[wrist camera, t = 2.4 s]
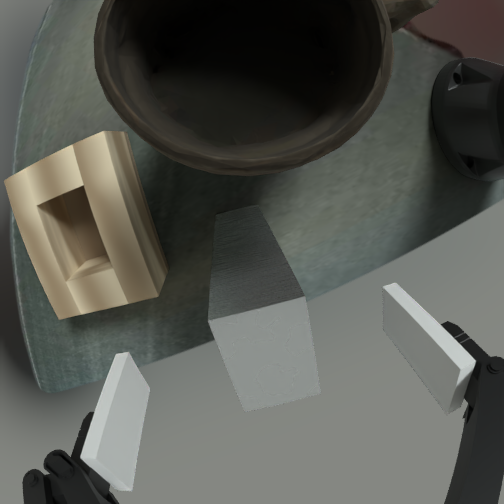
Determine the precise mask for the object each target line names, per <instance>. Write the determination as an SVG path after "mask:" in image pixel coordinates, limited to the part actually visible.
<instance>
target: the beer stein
mask: <svg viewBox="0 0 504 504" xmlns="http://www.w3.org/2000/svg"><path fill="white" fill-rule="evenodd" d="M438 1H439V0H104V2H103V4H102V6H101V9H100V11H99V13H98V18H97V23H96V28H95V34H94V58H95V69H96V72H97V76H98V79H99V81H100V84H101V86H102V89H103V91H104V94H105V96H106V98H107V100H108V102H109V103H110V104H111V105H112V107H113V108H114V109H115V111H116V112H117V113H118V115H119V116H120V117H121V119H122V120H123V121H124V122H125V123H126V124H127V125H128V126H129V127H130V128H131V129H132V130H133V131H134V132H135V133H136V134H137V135H138V136H140V137H141V138H142V139H143V140H144V141H146V142H147V143H148V144H150V145H151V146H152V147H153V148H154V149H156V150H157V151H159V152H160V153H162V154H163V155H165V156H167V157H168V158H170V159H171V160H174V161H176V162H179V163H181V164H184V165H186V166H189V167H191V168H195V169H199V170H203V171H206V172H210V173H214V174H222V175H239V176H255V175H263V174H271V173H280V172H283V171H287V170H290V169H293V168H296V167H300V166H302V165H304V164H307V163H309V162H311V161H314V160H317V159H319V158H321V157H323V156H325V155H326V154H328V153H330V152H332V151H334V150H335V149H337V148H339V147H340V146H342V145H343V144H344V143H345V142H346V141H348V140H349V139H350V138H351V137H353V136H354V135H355V134H356V133H357V132H358V131H359V130H360V129H361V128H362V127H363V125H364V124H365V123H366V122H367V121H368V120H369V118H370V117H371V116H372V114H373V113H374V111H375V110H376V108H377V107H378V105H379V104H380V102H381V100H382V98H383V96H384V94H385V91H386V88H387V86H388V83H389V80H390V77H391V73H392V67H393V59H394V47H393V39H392V33H393V32H395V31H397V30H398V29H400V28H401V27H402V26H404V25H405V24H406V23H407V22H409V21H410V20H411V19H412V18H413V17H415V16H416V15H418V14H420V13H422V12H424V11H426V10H428V9H430V8H432V7H434V6H435V5H436V4H437V3H438Z"/></svg>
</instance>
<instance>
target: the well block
mask: <svg viewBox="0 0 504 504" xmlns="http://www.w3.org/2000/svg"><path fill="white" fill-rule="evenodd" d="M4 182H5V186H6V189H7V193H8V196H9V200H10V203H11V206H12V209H13V212H14V215H15V218H16V221H17V224H18V227H19V230H20V233H21V236H22V238H23V241H24V244H25V246H26V249H27V251H28V254H29V256H30V259H31V261H32V263H33V266H34V268H35V270H36V273H37V275H38V277H39V280H40V282H41V284H42V286H43V288H44V290H45V292H46V295H47V297H48V299H49V301H50V303H51V305H52V307H53V309H54V311H55V313H56V315H57V316H58V318H59V319H64V318H68V317H73V316H77V315H82V314H86V313H91V312H95V311H99V310H104V309H108V308H113V307H117V306H121V305H125V304H130V303H134V302H138V301H142V300H147V299H151V298H155V297H159V294H160V292H161V289H162V286H163V284H164V281H165V278H166V276H167V273H168V270H169V266H168V263H167V260H166V257H165V254H164V252H163V249H162V246H161V243H160V240H159V237H158V234H157V231H156V228H155V225H154V222H153V219H152V216H151V213H150V210H149V207H148V204H147V200H146V197H145V194H144V191H143V187H142V184H141V181H140V177H139V174H138V170H137V167H136V163H135V160H134V156H133V153H132V149H131V145H130V142H129V138H128V134H127V132H117V131H103V132H100V133H98V134H95V135H93V136H91V137H88V138H86V139H84V140H82V141H79V142H77V143H75V144H73V145H71V146H68V147H66V148H64V149H62V150H60V151H58V152H56V153H54V154H52V155H50V156H48V157H46V158H44V159H42V160H40V161H38V162H36V163H34V164H33V165H31V166H29V167H27V168H25V169H23V170H22V171H20V172H18V173H16V174H15V175H13V176H11V177H9V178H8V179H6V180H5V181H4Z"/></svg>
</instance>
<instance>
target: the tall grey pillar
mask: <svg viewBox="0 0 504 504" xmlns="http://www.w3.org/2000/svg"><path fill="white" fill-rule="evenodd" d="M208 323H209V325H210V328H211V330H212V333H213V336H214V338H215V341H216V343H217V346H218V348H219V351H220V353H221V356H222V359H223V361H224V364H225V366H226V369H227V371H228V374H229V376H230V379H231V381H232V383H233V386H234V388H235V390H236V393H237V395H238V398H239V400H240V402H241V405H242V407H243V409H244V412H248V411H252V410H258V409H262V408H266V407H271V406H275V405H279V404H283V403H287V402H291V401H295V400H299V399H302V398H306V397H310V396H313V395H316V394H320V393H321V391H320V384H319V378H318V372H317V371H318V370H317V364H316V358H315V352H314V345H313V339H312V333H311V327H310V322H309V315H308V310H307V304H306V298H305V295H304V293H303V291H302V289H301V287H300V285H299V283H298V281H297V279H296V277H295V275H294V273H293V271H292V269H291V267H290V266H289V264H288V262H287V260H286V258H285V256H284V254H283V252H282V250H281V248H280V246H279V244H278V242H277V240H276V238H275V237H274V235H273V233H272V231H271V229H270V227H269V225H268V223H267V221H266V219H265V217H264V216H263V214H262V212H261V210H260V208H259V206H258V204H255V205H251V206H247V207H243V208H239V209H235V210H231V211H227V212H223V213H220V214H216V219H215V230H214V242H213V254H212V267H211V281H210V295H209V310H208Z"/></svg>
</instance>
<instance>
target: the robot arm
mask: <svg viewBox="0 0 504 504" xmlns="http://www.w3.org/2000/svg"><path fill="white" fill-rule="evenodd" d="M432 113H433V121H434V127H435V131H436V134H437V137H438V140H439V143H440V145H441V148H442V150H443V152H444V154H445V155H446V157H447V158H448V160H449V161H450V163H451V164H452V165H453V166H454V167H455V168H456V169H457V170H458V171H459V172H460V173H462V174H463V175H465V176H467V177H470V178H474V179H477V180H481V181H495V180H500V179H504V66H503V65H499V64H496V63H493V62H489V61H485V60H482V59H478V58H463V59H458V60H454V61H451V62H449V63H448V64H447V65H445V66H444V67H443V68H442V70H441V71H440V73H439V75H438V76H437V79H436V82H435V85H434V89H433V96H432ZM383 330H384V331H385V333H386V334H387V335H388V336H389V338H390V339H391V340H392V341H393V343H394V344H395V346H396V347H397V348H398V349H399V351H400V352H401V353H402V355H403V356H404V357H405V359H406V360H407V361H408V363H409V364H410V365H411V367H412V368H413V369H414V371H415V372H416V373H417V375H418V376H419V377H420V379H421V380H422V381H423V383H424V384H425V385H426V387H427V388H428V390H429V391H430V392H431V394H432V395H433V397H434V398H435V399H436V401H437V402H438V404H439V405H440V406H441V408H442V409H443V411H444V412H445V413H446V414H449V413H450V412H452V411H454V410H456V409H458V408H459V407H461V404H462V402H463V399H465V400H466V401H467V402H468V406H467V408H466V411H465V413H464V416H463V418H465V422H464V428H463V434H462V439H461V443H460V448H459V453H458V457H457V462H456V465H455V469H454V473H453V476H452V480H451V484H450V487H449V490H448V493H447V497H446V500H445V503H444V504H498V500H499V495H500V491H501V486H502V480H503V475H504V359H502V358H501V357H497V356H494V357H490V356H488V354H486V353H485V352H484V351H483V350H482V349H481V348H480V347H479V346H478V345H477V344H476V343H475V342H474V341H473V340H472V339H470V337H469V336H468V335H467V334H466V333H464V331H462V329H461V328H460V327H458V326H457V325H455V324H453V323H451V322H448V321H447V322H445V323H443V324H441V325H440V324H439V323H438V322H437V321H436V320H435V319H434V318H433V317H432V316H431V315H430V314H429V313H428V312H427V311H425V310H424V309H423V308H422V307H421V306H420V305H419V304H418V303H417V302H416V301H415V300H414V299H413V298H412V297H411V296H410V295H408V294H407V293H406V292H405V291H404V290H403V289H402V288H401V287H400V286H399V285H398V284H396V283H392V284H389V285H386V286H384V287H383ZM149 393H150V388H149V386H148V385H147V383H146V381H145V380H144V378H143V376H142V375H141V373H140V371H139V370H138V368H137V366H136V364H135V363H134V361H133V359H132V357H131V355H130V354H129V352H125V353H119V354H116V355H115V358H114V361H113V363H112V366H111V368H110V371H109V374H108V376H107V379H106V382H105V384H104V387H103V390H102V393H101V395H100V398H99V401H98V404H97V407H96V410H95V412H89V413H88V415H87V416H86V417H85V419H84V420H83V422H82V425H81V428H80V429H81V430H80V431H79V434H78V437H77V440H76V443H75V446H74V449H73V452H72V455H71V457H70V456H69V455H68V454H67V453H66V452H65V451H63V450H54V451H52V452H50V453H49V454H48V455H47V457H46V458H45V460H44V469H45V470H47V471H48V472H49V473H50V474H48V475H44V474H43V473H42V472H41V471H39V470H37V469H32V470H30V471H28V472H27V473H26V474H25V476H24V478H23V496H24V504H119V503H118V501H117V500H116V498H115V497H114V495H113V494H112V493H111V492H110V491H109V488H110V485H111V486H113V487H114V488H115V489H116V490H119V491H133V482H134V477H135V470H136V464H137V457H138V451H139V445H140V440H141V434H142V429H143V423H144V418H145V412H146V407H147V403H148V397H149Z"/></svg>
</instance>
